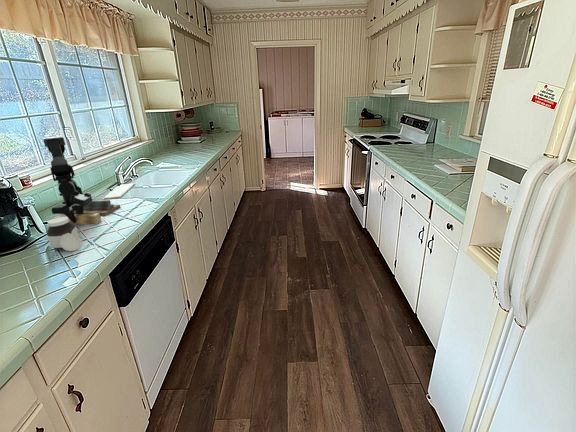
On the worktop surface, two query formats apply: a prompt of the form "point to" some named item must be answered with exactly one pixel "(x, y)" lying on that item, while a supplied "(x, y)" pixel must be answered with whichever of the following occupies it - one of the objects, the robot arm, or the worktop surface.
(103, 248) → the worktop surface
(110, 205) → the ridge stand
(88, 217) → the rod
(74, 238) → the spread jar
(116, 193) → the baseboard molding
